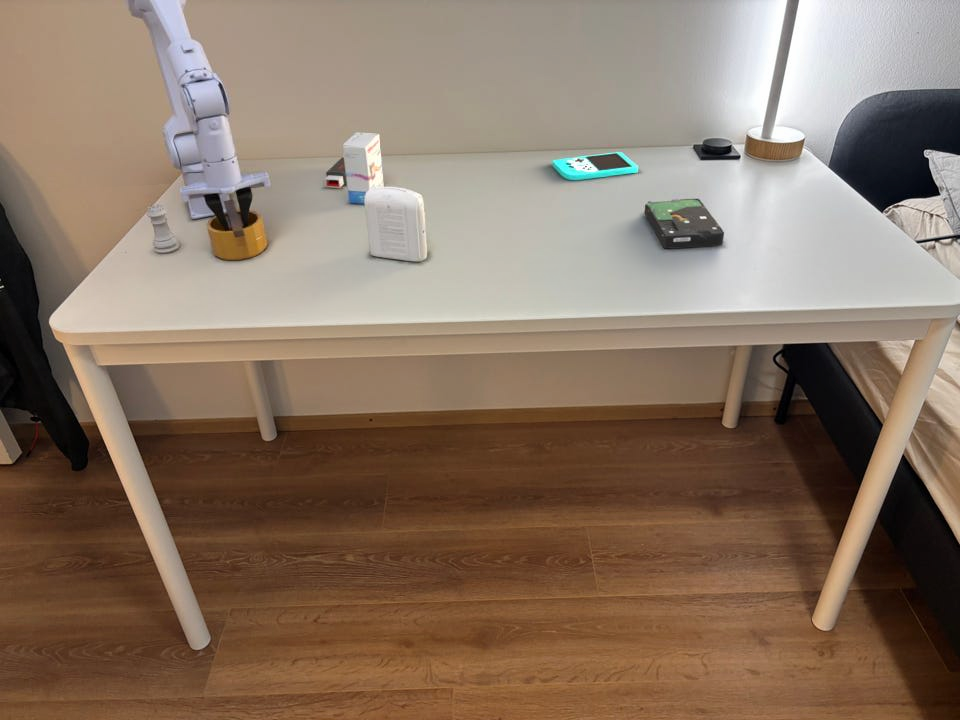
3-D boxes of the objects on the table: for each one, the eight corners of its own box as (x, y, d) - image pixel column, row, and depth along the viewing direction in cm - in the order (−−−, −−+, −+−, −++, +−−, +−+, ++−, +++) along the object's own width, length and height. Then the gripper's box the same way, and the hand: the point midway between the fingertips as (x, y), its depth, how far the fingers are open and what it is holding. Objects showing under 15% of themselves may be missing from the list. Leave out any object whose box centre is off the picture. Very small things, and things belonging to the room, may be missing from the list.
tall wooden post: (227, 227, 137) (220, 201, 134) (241, 225, 137) (234, 198, 134) (237, 259, 126) (230, 231, 123) (252, 256, 127) (245, 228, 124)
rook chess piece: (185, 245, 135) (173, 203, 130) (169, 256, 131) (156, 214, 127) (165, 242, 136) (152, 201, 131) (149, 252, 133) (135, 211, 128)
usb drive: (364, 168, 163) (363, 156, 162) (345, 189, 154) (343, 176, 152) (342, 167, 164) (340, 154, 163) (321, 187, 155) (319, 175, 153)
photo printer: (431, 253, 129) (426, 185, 122) (422, 264, 126) (416, 195, 118) (377, 246, 132) (368, 180, 124) (367, 257, 128) (357, 190, 121)
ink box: (372, 205, 147) (365, 146, 140) (348, 203, 147) (340, 145, 141) (385, 188, 153) (379, 131, 146) (362, 187, 154) (355, 130, 147)
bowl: (211, 243, 135) (203, 215, 132) (263, 233, 138) (257, 206, 134) (217, 265, 128) (209, 236, 124) (271, 254, 130) (265, 226, 127)
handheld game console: (551, 164, 161) (551, 158, 160) (620, 156, 164) (620, 150, 163) (566, 181, 153) (567, 175, 152) (638, 172, 156) (639, 166, 155)
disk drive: (723, 247, 127) (696, 210, 139) (726, 232, 126) (699, 196, 138) (664, 251, 127) (642, 213, 139) (665, 236, 125) (644, 200, 137)
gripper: (174, 171, 118) (196, 249, 125) (266, 156, 122) (281, 232, 130) (171, 157, 123) (192, 232, 131) (259, 143, 127) (275, 217, 135)
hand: (236, 231), depth 131 cm, fingers closed on tall wooden post, 2 cm apart
